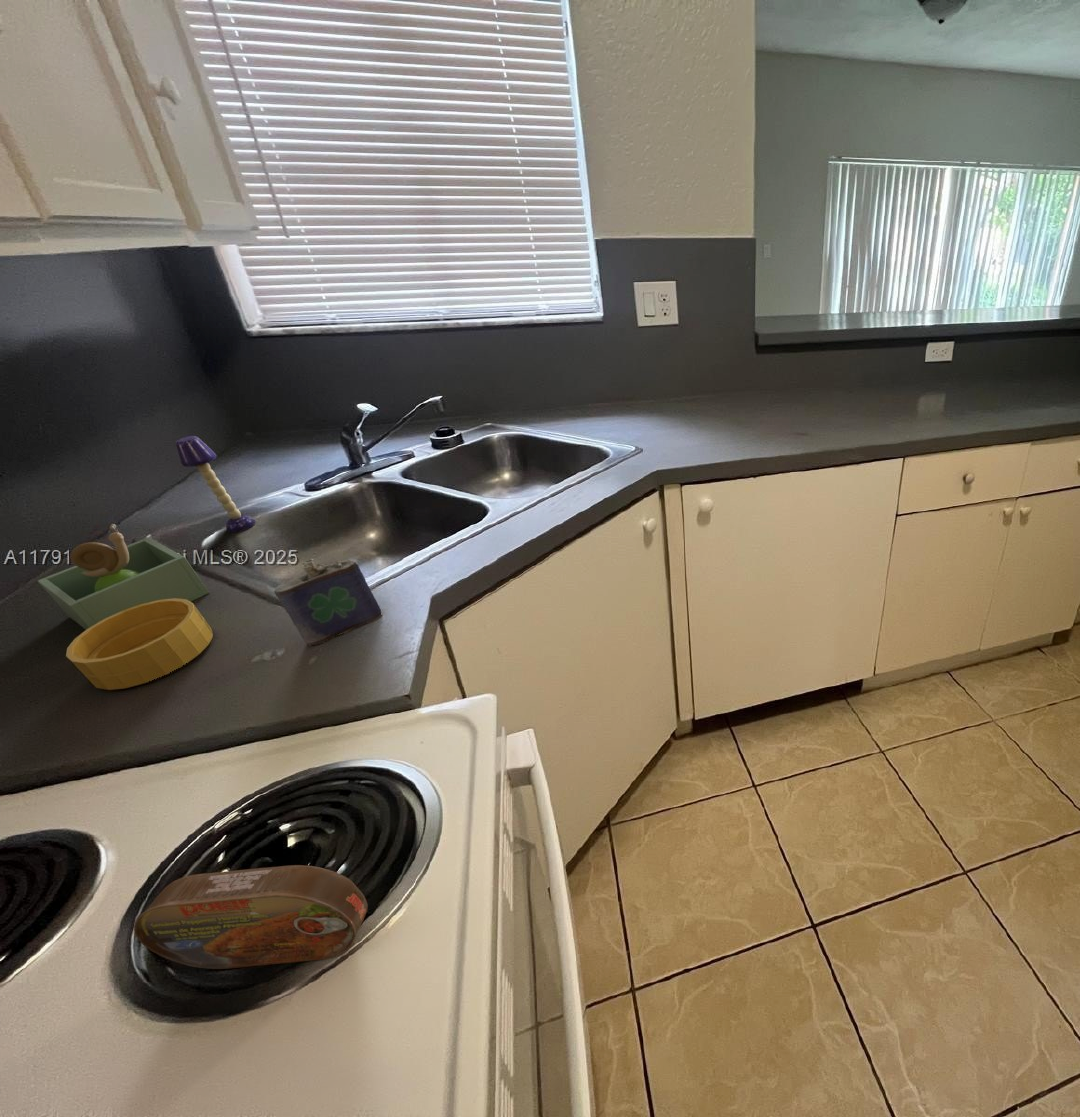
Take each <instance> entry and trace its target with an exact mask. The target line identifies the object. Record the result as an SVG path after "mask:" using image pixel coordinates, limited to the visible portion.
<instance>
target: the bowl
mask: <svg viewBox="0 0 1080 1117" xmlns="http://www.w3.org/2000/svg"><path fill="white" fill-rule="evenodd" d="M213 638H214V633H213V629H212V627H211V626H210V624H209V623H208V622H207V620H206V619H205V618H204V616H203V614H201V612H200V611H199V609H198V608H197V607H196V605H195V604H194V603H193V602H192V601H191V602H190V601H188V600H186V599H178V598H173V599H163V600H157V601H153V602H148V603H144V604H140V605H138V606H135V607H132V608H129V609H126V610H123V611H121V612H119V613H117V614H114V615H112V616H110V617H108V618H105V619H104V620H102V621H100V622H98V623H97V624H95V625H93V626H91V627H90V628H88V629H87V630H85V629H84V631H83V632H81V633H80V634H79V635H78V636H76V637H75V638H73V640H72V641H71V642H70V644H69V645H68V647H67V648H66V654H65V657H66V658H67V659H68V660H69V661H70V662H71V663H72V665H73V666H74V667H75V668H76V669H77V670H78V671H79V672H80V673H81V674H82V675H83V676H84V677H85V678H86V679H87V681H89V683H90V684H92V686H94V687H95V688H96V689H100V690H107V691H115V690H121V689H122V690H123V689H128V688H132V687H135V686H136V687H137V686H139V685H144V684H146V683H150V682H153V681H155V680H158V679H160V678H162V676H163V677H165V676H167V675H170V674H171V673H173V672H175V671H177V670H179V669H181V668H183V667H184V666H185V665H187V664H188V663H189V662H191V661H192V660H194V659H195V658H196V657H198V656H199V655H200V654H201V653H202V652H203V651H204V650H205V649H206V648H207V647H208V646H209V645H210V643H211V641H212V639H213ZM186 663H187V664H186ZM183 665H184V666H183ZM178 668H179V669H178ZM176 669H177V670H176ZM174 670H175V671H174ZM172 671H173V672H172ZM170 672H171V673H170ZM164 675H165V676H164ZM159 677H160V678H159ZM157 678H158V679H157ZM154 679H155V680H154ZM152 680H153V681H152ZM149 681H150V682H149Z"/></svg>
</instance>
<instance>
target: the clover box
mask: <svg viewBox="0 0 1080 1117" xmlns="http://www.w3.org/2000/svg"><path fill="white" fill-rule="evenodd" d="M314 562H315V560H314V559H313V558H309V559H307V560H305V562H302V566H304V567H303V571H304V572H305V573H304V574H301V575H298V576H297V577H295V578H292V579H290V580H288V581H285V582H283V583H281V584H278V585H277V586H276V587H275V589H274V595H275V596H276V598H277V599H278V600H279V601H280V603H281V604H282V606H283V608H284V609H285V611H286V614H288V616H289V617H290V619H291V621H292V624H293V625H294V627H295V628H296V629H297V631H298V632H299V635H300V636H301V638H302V640H303V642H304V643H305V644H307V645H308V646H309V647H312V646H315V645H320V644H323V643H326V642H328V640H332V639H334V638H336V637H338V636H337V635H339V634H341V633H344V634H347V633H348V632H350V631H351V630H353V629H356V628H355V627H358V626H359V627H361V626H364V625H366V624H365V623H367V624H369V623H372V622H376V621H377V620H379V619H380V618H381V617H382V616H381V613H382V610H381V607H380V605H379V604H378V601H377V599H376V598H375V596H374V594H373V592H372V590H371V588H370V586H369V584H368V582H367V581H366V578H365V576H364V574H363V572H362V570H361V568H360V565H359V564H358V563H356V562H355V561H354V560H351V559H346V560H342V561H340V560H337V561H334V562H333V563H332V564H325V565H324V564H320V563H318V564H315V563H314ZM375 620H376V621H375ZM363 624H364V625H363ZM360 625H361V626H360ZM359 627H358V628H359ZM335 636H336V637H335ZM325 641H326V642H325Z"/></svg>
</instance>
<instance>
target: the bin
mask: <svg viewBox="0 0 1080 1117" xmlns="http://www.w3.org/2000/svg"><path fill="white" fill-rule="evenodd" d="M126 546H127V549H128V552H129V562H128V564H127V565H126V566H125V567H124V568H123V569H126V570H132V571H135V572H138V573H140V574H138V575H135V576H133V577H130V578H128V579H126V580H123V581H121V582H119V583H116V584H114V585H112V586H109V587H107V588H104V589H102V590H100V591H97V592H95V591H94V587H95V584H96V582H97V580H98V579H99V578H100V577H90V576H86V575H83V574H82V573H83V572H85V571H90V570H86V569H82V568H79V567H78V566H76V565H74V566H71V567H69V568H66V569H64V570H61V571H58V572H56V573H53V574H50V575H48V576H46V577H43V578H40V579H37V583H39V585H40V586H41V587H42V588H43V589H44V590H45V591H46V593H47V594H49V596H50V597H51V598H52V599H53V601H55V603H56V604H57V605H58V606H59V607H60V608H61V609H62V611H64V613H65V614H66V615H67V616H68V617H69V618H70V619H72V621H73V622H75V623H77V625H79V626H80V627H81V628H83V629H84V631H85V630H87V629H88V628H90V627H91V626H93V625H95V624H97V623H98V622H100V621H102V620H104V619H105V618H108V617H110V616H112V615H114V614H117V613H119V612H121V611H123V610H126V609H129V608H132V607H135V606H138V605H140V604H144V603H148V602H153V601H157V600H163V599H173V598H178V599H186V600H188V601H190V602H192V601H195V600H197V599H199V598H201V597H204V596H205V595H207V594H209V593H210V591H209V590H208V588H207V586H205V584H204V583H203V581H202V580H201V578H200V576H199V575H198V573H197V572H196V571H195V570H194V568H193V566H192V565H191V564H190V563H189V561H188V560H187V558H186V556H184V555H182V554H180V553H179V552H176V551H174V550H172V549H171V548H169V547H167V546H165V545H163V544H161V543H160V542H157V541H156V540H153V539H152V538H150V537H145V538H143V539H141V540H138V541H135V542H132V543H130V544H128V545H127V544H126ZM114 550H115V551H116V549H114Z"/></svg>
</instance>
